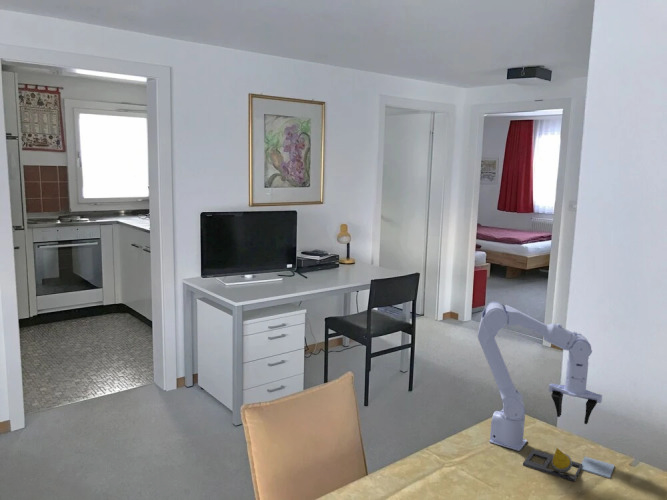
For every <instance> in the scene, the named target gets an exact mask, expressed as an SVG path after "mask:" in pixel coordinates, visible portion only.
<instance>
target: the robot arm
mask: <svg viewBox="0 0 667 500" xmlns="http://www.w3.org/2000/svg"><path fill="white" fill-rule="evenodd" d="M480 318H481V319H480V323H479V326H478V330H477V339H478V342H479V344H480V347H481V349H482V351H483V354H484V357H485V359H486V360H487V361H486V362H487V364H488V366H489V368H490V370H491V371H490V372H491V373H492V375H493V378H494V381H495V383H496V386H497V388H498V391H499V394H500V397H501V400H502V405H503V408H502V409H501V410H495V411H494V412H493V414H492V417H491V423H490V434H489V441H488V442H489V443H491V444H494V445H497V446H502V447H504V448H508V449H510V450H511V449H512V450H515V451H518V452H520V451H521V450H522V449H523V448H524V446H525V445H526V443H528V439H524V434H525V433H524V432H525V422H526V415H525V414H526V407H525V404H524V396H523V395H522V393H521V392H520V391H518V389H517V387H516V385H515V384H514V381H513V380H512V377H511V375H510V373H509V370H508V368H507V365H506V363H505V361H504V358H503V354H502V353H501V351H500V348H499V346H498V342H497V341H496V335H497V334H498V333H499V331H500V330H501V329H503V328H504V327H505V326H506V325H507V326H508V327H512V326H516V325H518V326H520V327H523V328H525V329H527V330H530V331H532V332H535V333H538V334H540V335H541V336H542V337H543V340H544V341H545V342H547V343H549V344H551V345H553V346H555V347H558V348H560V349H562V350H564V351H568V355H567V356H568V357H567V362H566V373H565V383H564V384H557V383H550V384H549V385H548V392H550V393H551V399H552V401H553V403H554V406H555V409H556V417H557V418H560V417H561V416H562V405H563V404H562V403H563V397H564V395H567V396H569V397H573V398H579V399H585V400H587V401H586V402H585V415H584V425H588V423H589V420H590V416H591V414H592V412H593V410H594V408H595V407H596V406H597V404H601V403H602V401H603V394H599V393H597V392H593V391H590V390H588V389H587V382H588V371H589V358H590V356H591V355H592V353H593V350H592V345H591V344H590V342H589V340H588V339H587V338H586V337H585V336H584V335H583V334H581V333H579V332H576V331H573V332H572V331H570V330H568V329H566V328H564V327H563V325H562V324H561V323H559V322H558V323H557V324H555V323H550V324H546V323H544V322H541V321H539V320H538V319H536V318H534V317H532V316H530V315H528V314H526V313H524V312H523V311H520V310H519V309H517V308H514V307H512V306H510V305H508V304H503V303H501V301H491V302H489V303H488V304H487V305H486V306H485V308H484V309H483V310H482V312H481V317H480Z"/></svg>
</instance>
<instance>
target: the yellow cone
mask: <svg viewBox="0 0 667 500" xmlns="http://www.w3.org/2000/svg"><path fill="white" fill-rule="evenodd" d="M550 464H551V466H552V468H553V469H554V471H557V472H560V473H565V472H568V471H570V470H571V469H572V467H573V466H572V458H571V456H570V455H568V454H567V453H564V452H563V451H562V450H560V449H559V448H556V450H555V452H554V455H553V457H552V459H551V462H550Z"/></svg>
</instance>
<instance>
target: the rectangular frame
mask: <svg viewBox="0 0 667 500" xmlns="http://www.w3.org/2000/svg"><path fill="white" fill-rule="evenodd" d="M553 456H554V455H553V454H551V453H550V454H549V453H547V452H543V451H540V450H536V449H532V450H531V451H530V452H529V454H528V456H527V457H526V458H525V459H524V461H523V462H522V466H523V467H526V468H529V469H533V470H537V471H539V472H541V473H546V474H547V475H551V476H555V477H557V478H561V479H563V480H567V481H571V482H572V483H576V481H577V478H578V476H579V474H580V473H581V471H582V470H581V467H582V465H583V464H581V462H576V461H572V460H571V461H572V467H575V468H577V470H576V472H575V474H574V476H573V475H569V474H566V473H565V472H559V471H557V470H555V469H554V470H553V469H551V468H549V466H550V464H551V459H552V457H553ZM534 457H537V458H540V459H542V460H545V462H544V463H543V464H541V463H538V462H534V461H532V459H533V458H534Z"/></svg>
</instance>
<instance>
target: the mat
mask: <svg viewBox="0 0 667 500" xmlns="http://www.w3.org/2000/svg"><path fill="white" fill-rule="evenodd" d="M580 464H583V465H582V467H581V470H580V471H584V472H587V473H590V474H594V475H598V476H600V477H604V478H607V479H611V476H612V475H613V471H614V470H615V467H616V466H615V464H611V463H609V462H606V461H603V460H602V461H601V460H599V459H595V458H591V457H588V456H584V457H583V459H582V461H581V462H580Z"/></svg>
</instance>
